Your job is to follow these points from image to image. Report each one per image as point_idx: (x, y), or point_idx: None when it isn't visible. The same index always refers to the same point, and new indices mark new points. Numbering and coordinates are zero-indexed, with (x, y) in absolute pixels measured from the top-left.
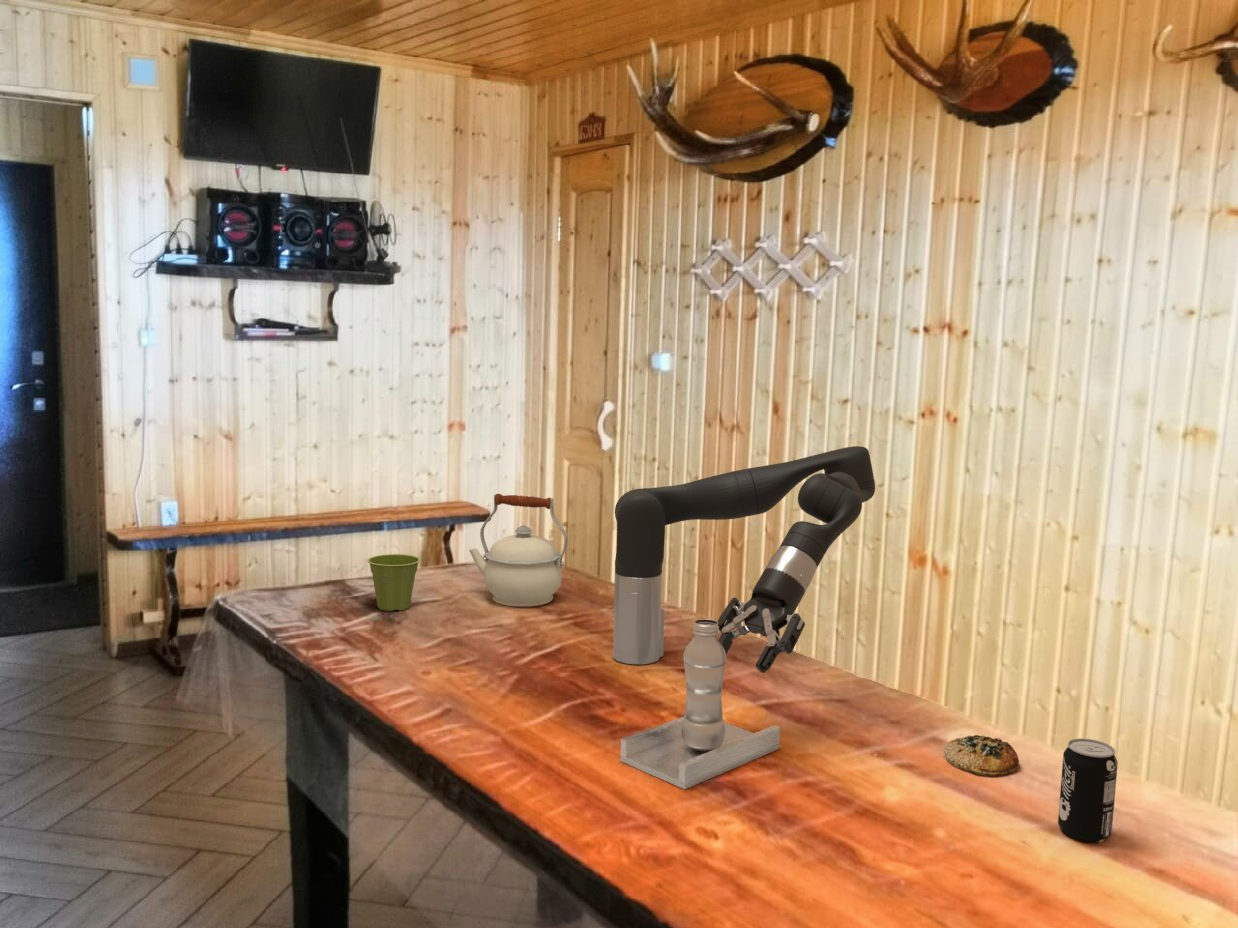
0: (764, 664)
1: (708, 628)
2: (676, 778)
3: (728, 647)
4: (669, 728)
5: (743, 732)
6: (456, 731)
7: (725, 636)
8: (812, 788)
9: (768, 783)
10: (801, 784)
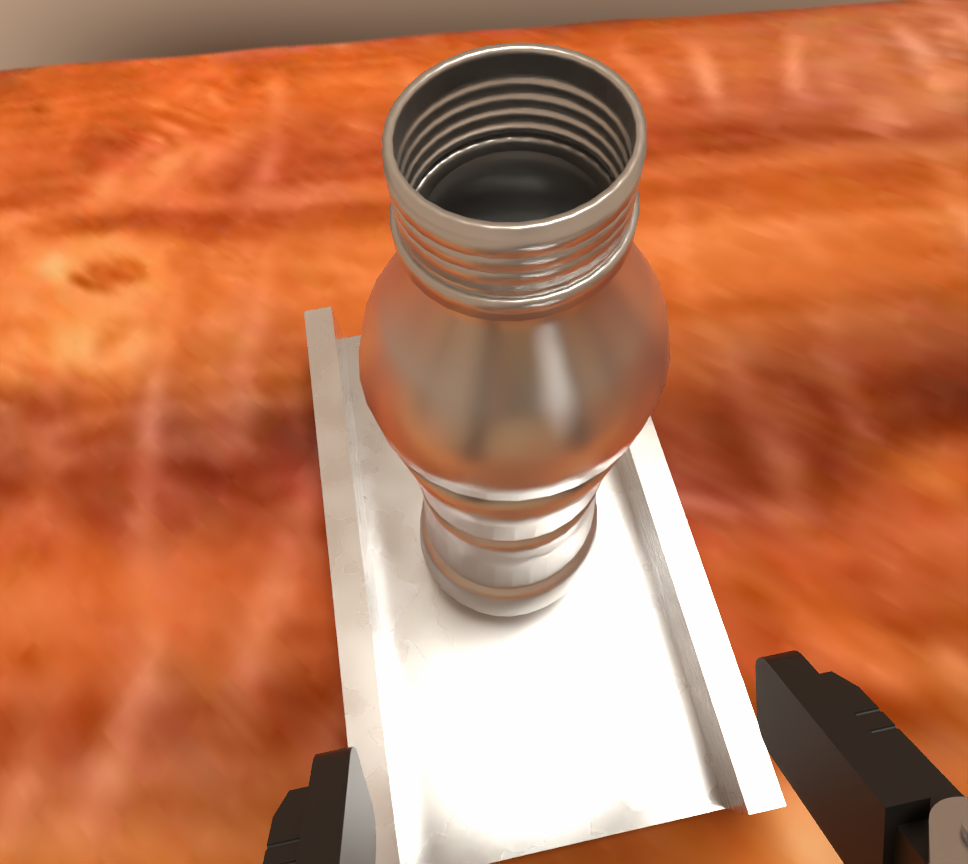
0: (285, 799)
1: (405, 122)
2: (358, 339)
3: (827, 824)
4: (628, 456)
5: (559, 810)
6: (958, 71)
7: (876, 785)
8: (48, 714)
9: (186, 598)
10: (98, 701)
